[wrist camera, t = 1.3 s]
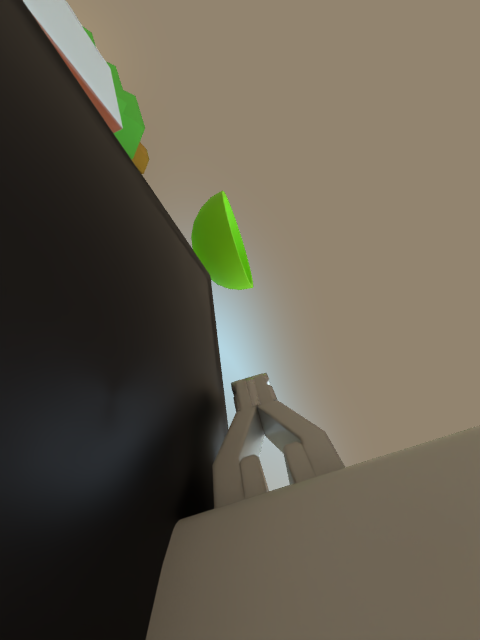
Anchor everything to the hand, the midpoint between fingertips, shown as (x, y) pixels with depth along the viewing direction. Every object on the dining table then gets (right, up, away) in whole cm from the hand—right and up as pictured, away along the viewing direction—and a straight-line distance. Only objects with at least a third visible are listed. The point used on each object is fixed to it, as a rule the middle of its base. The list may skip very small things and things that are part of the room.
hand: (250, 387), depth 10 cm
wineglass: (-18, +11, +30) cm, 36 cm away
